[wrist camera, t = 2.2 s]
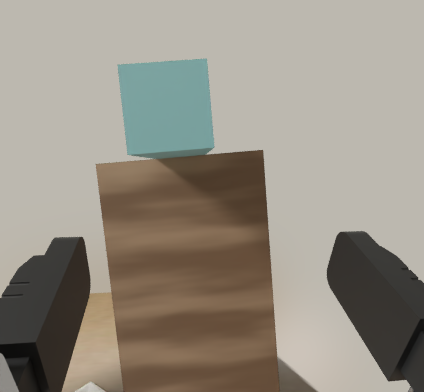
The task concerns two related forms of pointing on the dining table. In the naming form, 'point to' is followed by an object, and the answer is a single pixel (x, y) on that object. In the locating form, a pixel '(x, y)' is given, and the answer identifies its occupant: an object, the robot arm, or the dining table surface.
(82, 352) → the dining table surface
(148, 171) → the stand
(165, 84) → the bar
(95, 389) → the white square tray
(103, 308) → the dining table surface
